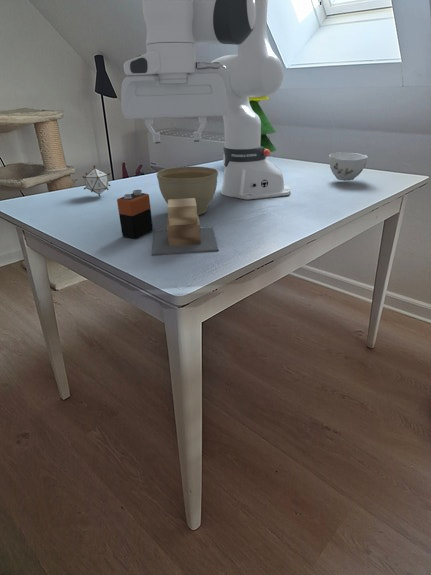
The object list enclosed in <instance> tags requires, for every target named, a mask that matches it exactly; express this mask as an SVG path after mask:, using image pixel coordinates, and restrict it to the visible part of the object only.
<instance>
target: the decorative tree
mask: <svg viewBox="0 0 431 575" xmlns="http://www.w3.org/2000/svg"><path fill="white" fill-rule="evenodd" d="M248 99H249V103H250V106H251V108H252V110H253V111H254V112H255V113H256V114H257V115H258V116H259V118H260V120H261V143H260V146H262V147H263V148H265V149H268V150H270V152H271V153H272V152H276V151H277V148H276V147H275V146H274V144H273V143H272V141H271V140H270V138H269V136H268V135H271V134H274V133H276V129H275V128H274V126H273V125H272V124H271V121H270V120H269V118H268V117H267V115H266V113H265V112H264V110H263V109H262V106H261V105H260V104H259V102H261V101H263V100H264V101H266V100H270V98H269V97H268V96H264V97H248Z"/></svg>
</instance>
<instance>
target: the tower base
mask: <svg viewBox="0 0 431 575" xmlns="http://www.w3.org/2000/svg"><path fill="white" fill-rule="evenodd" d="M166 219H167V220H166V230H167V232H168V243H169V246H181V245H197V244H201V237H200V228H201V224H200V218H199V215H197V224H188V225H172V226H169V216H167V218H166Z"/></svg>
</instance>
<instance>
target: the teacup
mask: <svg viewBox="0 0 431 575" xmlns="http://www.w3.org/2000/svg"><path fill="white" fill-rule="evenodd" d="M367 161H368V155H366V154H362V153H356V152H344V151H343V152H341V151H339V152H333V153H330V154H329V155H328V162H329V168H330V170H331V172H332V174H333V175H334V176H335V178H336V179H337V180H339V181H346V182H348V181H354V180H355V178H357V177H358V176H359V175H360V174H361V173H362V171H363V170H364V169H365V167H366V164H367V163H368V162H367Z"/></svg>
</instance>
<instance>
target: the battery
mask: <svg viewBox="0 0 431 575" xmlns="http://www.w3.org/2000/svg"><path fill="white" fill-rule="evenodd" d="M116 202H117V209H118V217H119V222H120V223H119V224H120V230H121V235H122V237H123V238H124V237H125V238H130V239H133V240H136V239H139V238H141V237H144V236H145V235H147V234H148V233H151V232H152V231H153V229H154V228H153V218H152V210H151V209H152V208H151V202H150V194H148V193H145V192H143V191H142V189H134V190H133V191H132V193H126V194H124V195H123V196H120V197H118V198H117V200H116Z"/></svg>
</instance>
